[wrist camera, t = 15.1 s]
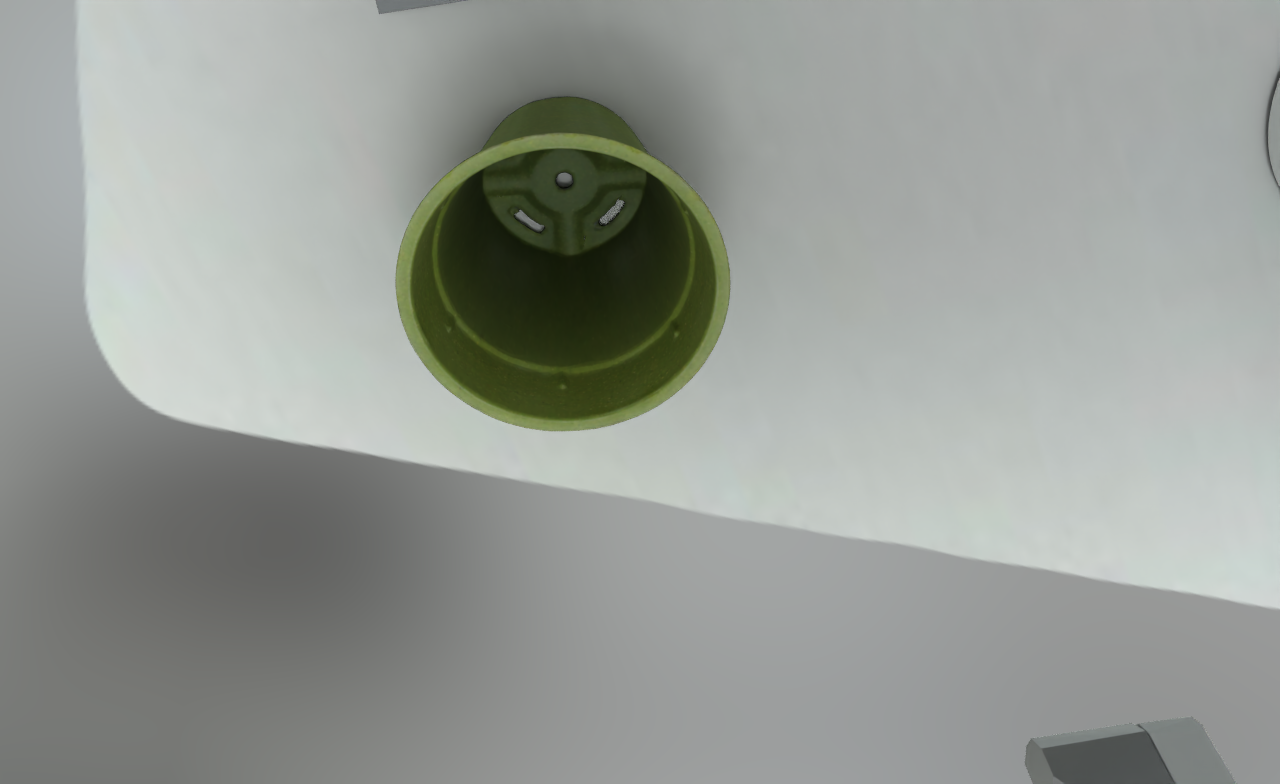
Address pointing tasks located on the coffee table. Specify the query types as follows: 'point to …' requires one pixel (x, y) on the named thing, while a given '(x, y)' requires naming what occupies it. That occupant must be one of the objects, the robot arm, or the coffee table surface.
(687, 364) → the plant pot
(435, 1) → the tray
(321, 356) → the coffee table surface
